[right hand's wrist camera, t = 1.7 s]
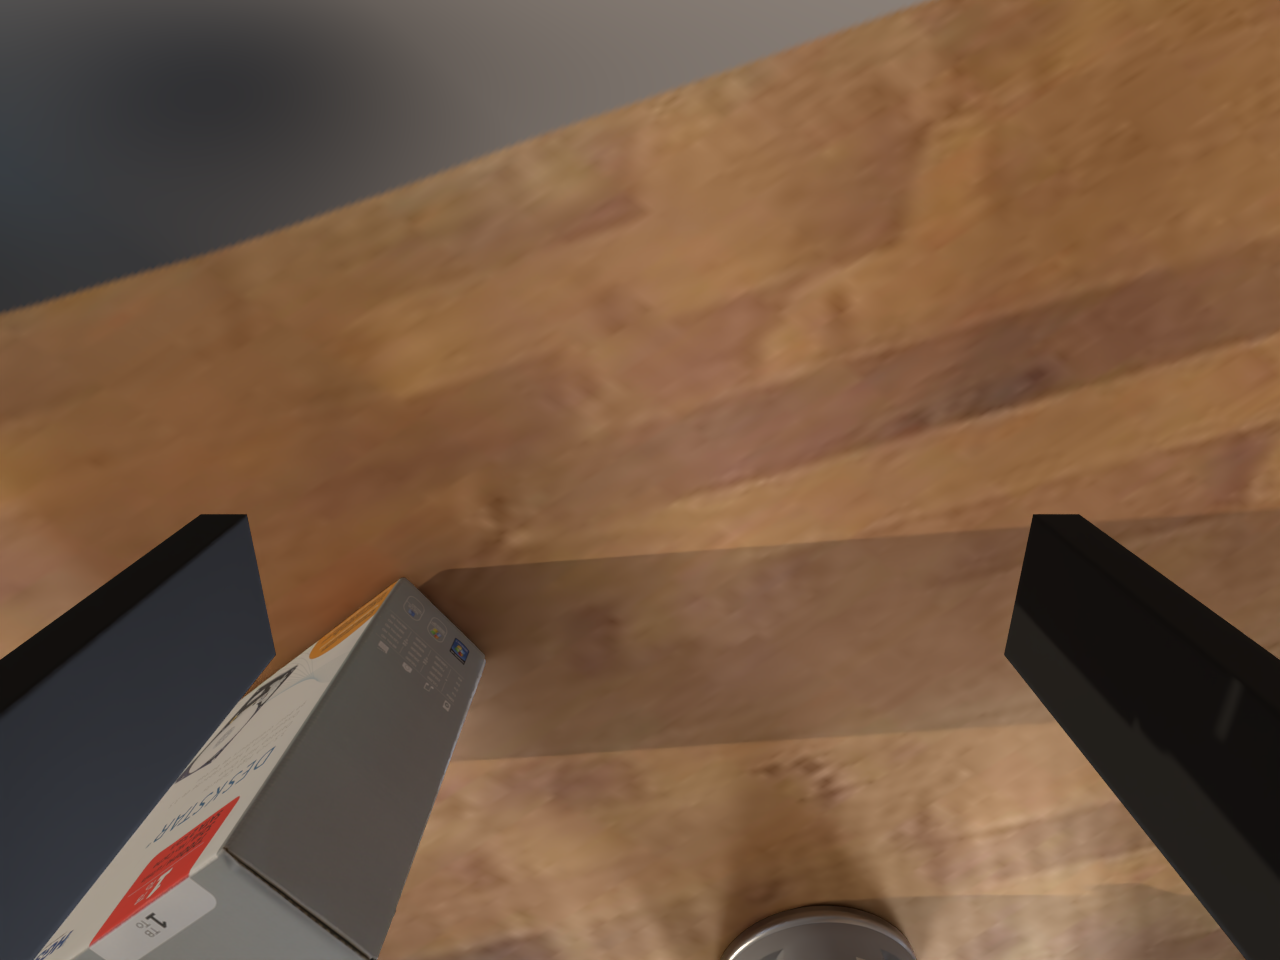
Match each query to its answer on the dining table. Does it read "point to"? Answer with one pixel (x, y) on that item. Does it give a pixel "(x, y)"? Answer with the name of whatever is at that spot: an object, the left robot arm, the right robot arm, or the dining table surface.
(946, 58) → the dining table surface
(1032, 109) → the dining table surface
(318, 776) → the hard drive box
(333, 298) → the dining table surface
